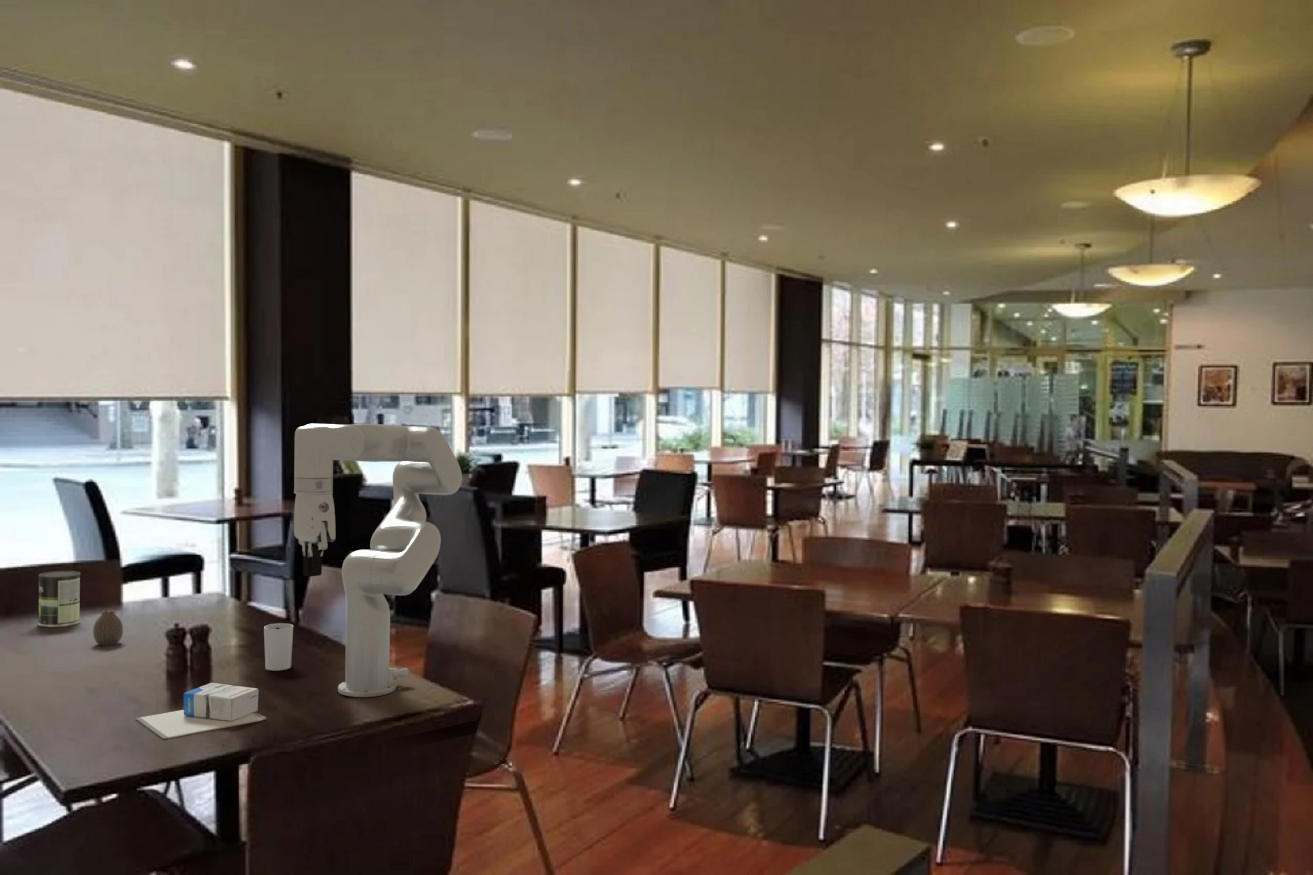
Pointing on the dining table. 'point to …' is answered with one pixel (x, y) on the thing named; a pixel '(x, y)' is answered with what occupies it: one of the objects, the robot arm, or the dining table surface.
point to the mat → (190, 723)
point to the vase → (108, 629)
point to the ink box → (221, 701)
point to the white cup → (278, 646)
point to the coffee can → (59, 598)
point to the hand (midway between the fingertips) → (312, 575)
